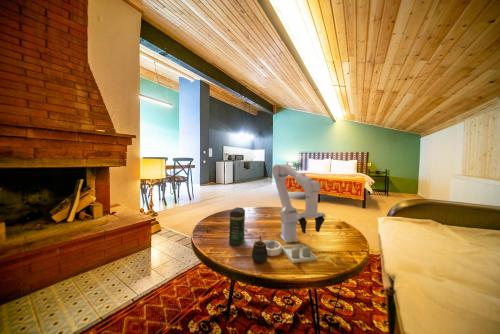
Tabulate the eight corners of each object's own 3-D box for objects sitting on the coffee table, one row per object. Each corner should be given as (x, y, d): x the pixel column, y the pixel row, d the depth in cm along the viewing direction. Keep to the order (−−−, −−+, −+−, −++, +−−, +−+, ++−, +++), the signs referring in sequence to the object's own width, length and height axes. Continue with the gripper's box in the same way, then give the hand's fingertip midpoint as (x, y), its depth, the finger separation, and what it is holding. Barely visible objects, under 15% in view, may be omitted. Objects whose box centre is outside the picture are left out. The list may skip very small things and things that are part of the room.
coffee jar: (241, 246, 97) (242, 211, 96) (227, 245, 99) (227, 210, 98) (246, 238, 107) (246, 206, 106) (232, 237, 108) (233, 205, 107)
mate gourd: (252, 265, 80) (252, 242, 80) (250, 256, 88) (250, 235, 88) (269, 264, 81) (269, 242, 81) (265, 255, 89) (266, 235, 88)
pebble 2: (300, 254, 89) (301, 246, 89) (307, 253, 90) (307, 245, 90) (304, 258, 86) (305, 249, 86) (311, 257, 87) (312, 249, 86)
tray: (280, 249, 95) (281, 246, 95) (302, 247, 98) (302, 244, 98) (292, 263, 82) (292, 260, 82) (316, 260, 85) (316, 256, 85)
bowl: (258, 246, 97) (258, 241, 97) (276, 244, 100) (276, 239, 100) (264, 256, 88) (264, 250, 88) (284, 254, 90) (284, 248, 90)
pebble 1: (290, 255, 88) (290, 247, 88) (297, 254, 89) (297, 246, 89) (293, 259, 84) (293, 251, 84) (300, 258, 85) (301, 250, 85)
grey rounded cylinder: (266, 247, 95) (266, 240, 95) (272, 247, 96) (272, 239, 96) (268, 251, 91) (268, 243, 91) (275, 250, 92) (275, 242, 92)
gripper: (302, 208, 87) (301, 236, 87) (329, 206, 90) (328, 234, 91) (295, 204, 93) (294, 230, 94) (320, 203, 97) (319, 228, 98)
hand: (310, 232), depth 93 cm, fingers open, 7 cm apart
